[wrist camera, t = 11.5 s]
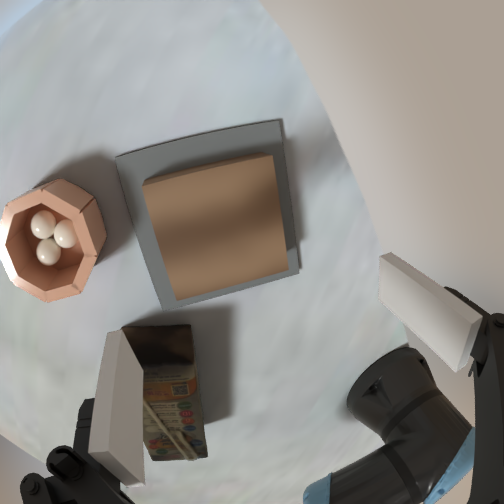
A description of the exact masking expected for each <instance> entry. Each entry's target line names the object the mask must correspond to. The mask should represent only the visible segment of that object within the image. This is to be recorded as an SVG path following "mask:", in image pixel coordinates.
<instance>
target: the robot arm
mask: <svg viewBox="0 0 504 504" xmlns="http://www.w3.org/2000/svg"><path fill="white" fill-rule="evenodd" d="M378 300H379V301H380V302H381V303H382V304H383V305H384V306H385V307H387V308H388V309H389V310H390V311H391V312H392V313H393V314H394V315H395V316H396V317H397V318H399V319H400V320H401V321H402V322H403V323H404V324H405V325H406V326H407V327H408V328H409V329H410V330H412V331H413V332H414V333H415V334H416V335H417V336H418V337H419V338H420V339H421V340H422V341H423V342H424V343H425V344H426V345H427V346H428V347H429V348H431V349H432V350H433V351H434V352H435V353H436V354H437V355H438V356H439V357H440V358H441V359H442V360H443V361H444V362H445V363H446V364H447V365H448V366H449V367H450V368H451V369H452V370H453V371H454V372H457V371H458V370H460V369H461V368H463V367H464V366H466V365H467V362H468V359H469V357H470V355H471V356H472V357H473V358H474V361H473V364H472V366H471V369H470V371H469V374H468V376H469V377H470V376H471V374H472V371H473V373H474V389H475V427H472V426H471V424H470V423H469V422H468V421H467V420H466V419H465V418H464V416H463V415H462V414H461V413H460V412H459V411H458V410H457V409H456V408H455V407H454V406H453V404H452V403H451V402H450V401H449V400H448V399H447V398H446V397H445V396H444V395H443V394H442V392H441V391H440V390H439V389H438V388H437V386H436V383H435V381H434V378H433V376H432V373H431V371H430V368H429V366H428V364H427V362H426V360H425V358H424V357H423V356H422V355H421V354H420V353H419V352H418V351H417V350H416V349H414V348H402V349H399V350H396V351H394V352H391V353H389V354H388V355H386V356H384V357H383V358H381V359H380V360H378V361H377V362H376V363H374V364H373V365H372V366H371V367H369V368H368V369H367V370H366V371H365V372H364V373H363V374H362V375H361V376H360V377H359V379H358V380H357V381H356V382H355V384H354V385H353V387H352V388H351V390H350V392H349V395H348V398H347V406H348V408H349V410H350V411H351V413H352V414H353V416H354V417H355V418H356V419H357V420H359V421H360V422H361V423H363V424H364V425H366V426H367V427H368V428H370V429H371V430H373V431H374V432H376V433H377V434H378V435H379V436H380V437H381V438H382V440H383V441H384V443H385V445H384V446H382V447H380V448H379V449H377V450H375V451H374V452H372V453H370V454H368V455H367V456H365V457H363V458H361V459H359V460H358V461H356V462H354V463H352V464H350V465H348V466H346V467H344V468H342V469H340V470H338V471H336V472H334V473H332V472H331V473H329V474H328V476H326V477H324V478H322V479H320V480H318V481H316V482H314V483H312V484H310V485H309V486H308V487H307V488H306V489H305V491H304V494H303V504H420V503H421V502H423V504H434V503H436V502H437V501H438V500H439V499H441V498H442V497H443V496H444V495H445V494H446V493H447V492H448V491H450V490H451V489H452V488H453V487H454V486H455V485H456V484H457V483H458V482H459V481H460V480H461V479H462V478H463V477H464V476H465V475H466V474H467V473H468V472H469V471H470V470H471V469H472V468H473V477H472V485H471V493H470V498H469V500H468V502H467V504H504V314H501V313H495V314H492V315H490V314H489V313H487V312H486V311H484V310H483V309H482V308H480V307H479V306H478V305H476V304H475V303H473V302H472V301H469V299H468V298H467V297H465V296H463V295H462V294H461V293H459V292H458V291H457V290H454V289H452V288H449V287H442V286H440V285H439V284H438V283H436V282H435V281H433V280H432V279H430V278H429V277H427V276H426V275H424V274H423V273H422V272H420V271H418V270H417V269H416V268H414V267H413V266H411V265H410V264H408V263H407V262H405V261H404V260H402V259H401V258H399V257H397V256H396V255H394V254H393V253H388V254H385V255H382V256H380V266H379V293H378ZM76 428H77V429H76V431H75V438H74V445H73V449H72V448H71V447H69V446H66V445H63V446H58V447H56V448H55V449H53V450H52V451H51V452H50V453H49V455H48V458H47V463H46V466H47V469H48V471H49V472H50V473H52V474H53V475H54V476H51V477H48V478H45V479H44V478H43V477H42V476H40V475H39V474H36V473H30V474H28V475H26V476H25V477H24V478H23V480H22V481H21V485H20V492H21V496H22V500H23V504H135V503H134V502H133V501H132V500H131V499H130V498H129V497H128V496H127V495H126V494H125V493H124V492H122V491H121V490H120V482H122V483H123V484H124V485H125V486H126V487H136V486H145V473H144V453H143V369H142V368H141V366H140V364H139V362H138V360H137V358H136V356H135V354H134V352H133V351H132V349H131V347H130V345H129V343H128V341H127V339H126V337H125V335H124V333H123V331H122V330H117V331H113V332H109V333H107V338H106V342H105V347H104V352H103V357H102V362H101V367H100V372H99V378H98V383H97V389H96V395H95V398H91V399H85V400H84V402H83V404H82V405H81V407H80V409H79V413H78V421H77V425H76Z"/></svg>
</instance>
